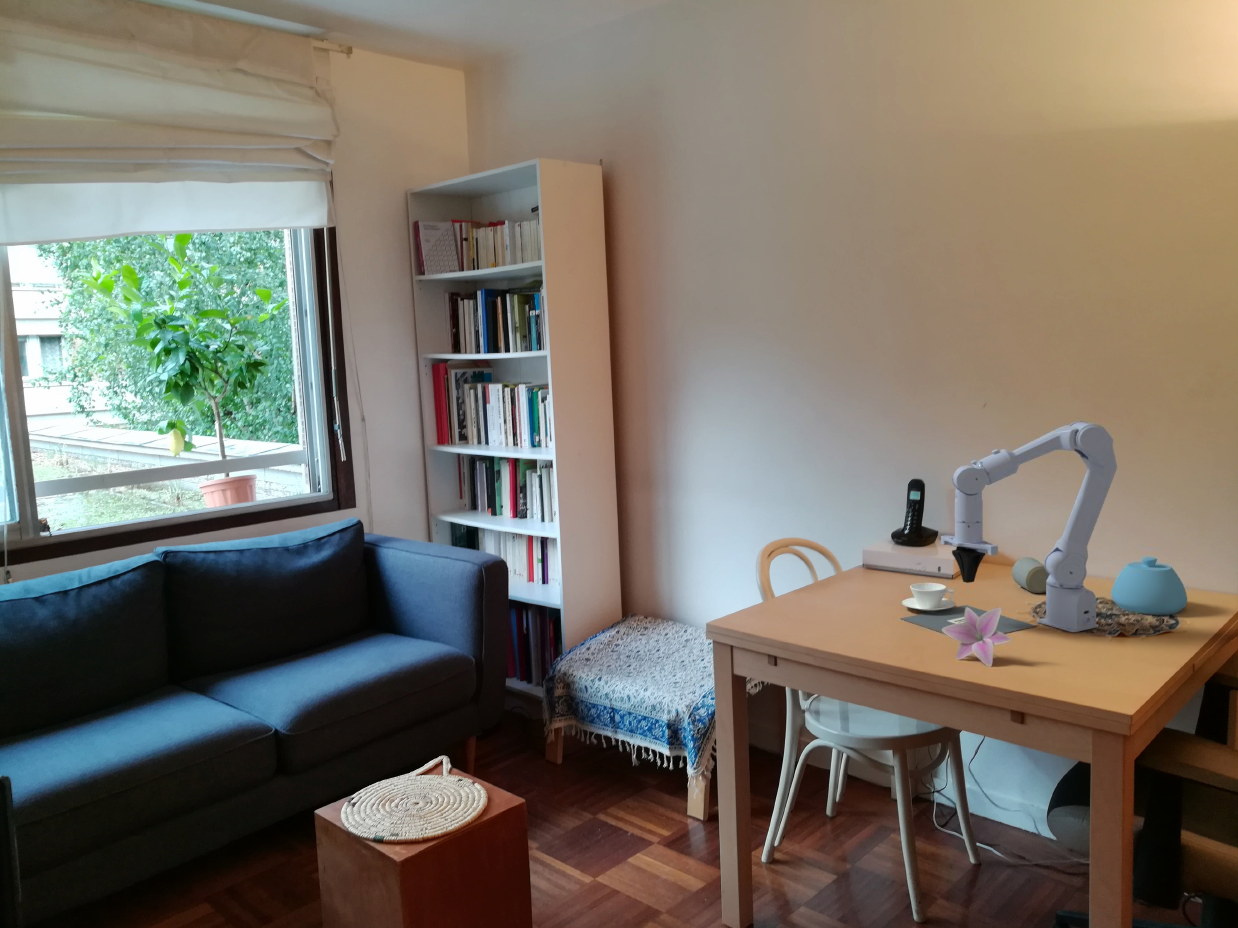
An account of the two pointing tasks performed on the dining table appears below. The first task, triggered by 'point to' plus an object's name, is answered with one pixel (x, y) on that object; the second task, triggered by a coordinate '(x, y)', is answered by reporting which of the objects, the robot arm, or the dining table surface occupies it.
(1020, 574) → the ceramic mug
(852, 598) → the dining table surface
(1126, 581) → the sugar bowl
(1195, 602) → the dining table surface
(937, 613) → the label mat
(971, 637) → the lily
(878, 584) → the dining table surface
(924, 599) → the teacup
